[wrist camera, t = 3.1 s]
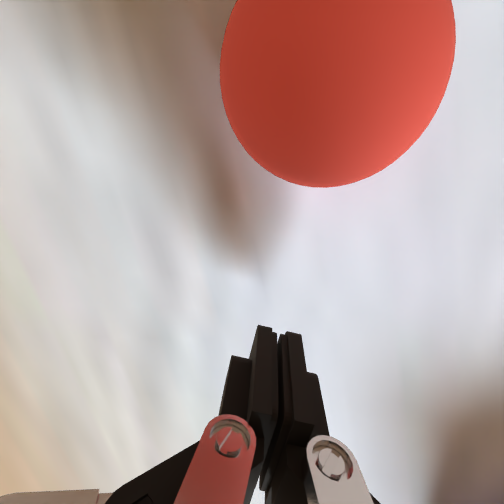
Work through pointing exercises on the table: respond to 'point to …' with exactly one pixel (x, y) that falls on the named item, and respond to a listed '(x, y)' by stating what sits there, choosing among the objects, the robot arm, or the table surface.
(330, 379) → the table surface
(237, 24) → the ball
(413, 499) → the table surface
